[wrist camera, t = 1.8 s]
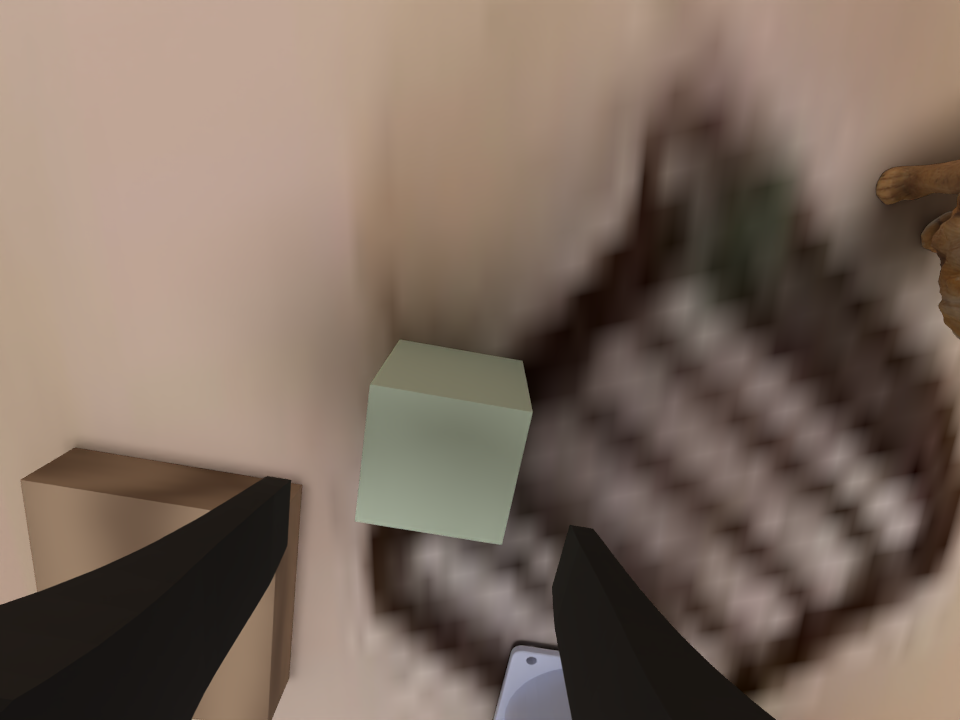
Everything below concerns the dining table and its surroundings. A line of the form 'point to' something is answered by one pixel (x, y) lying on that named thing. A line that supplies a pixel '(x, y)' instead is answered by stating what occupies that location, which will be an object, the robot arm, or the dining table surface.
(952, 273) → the lion figurine
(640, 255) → the dining table surface
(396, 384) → the sage cube
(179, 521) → the walnut block
